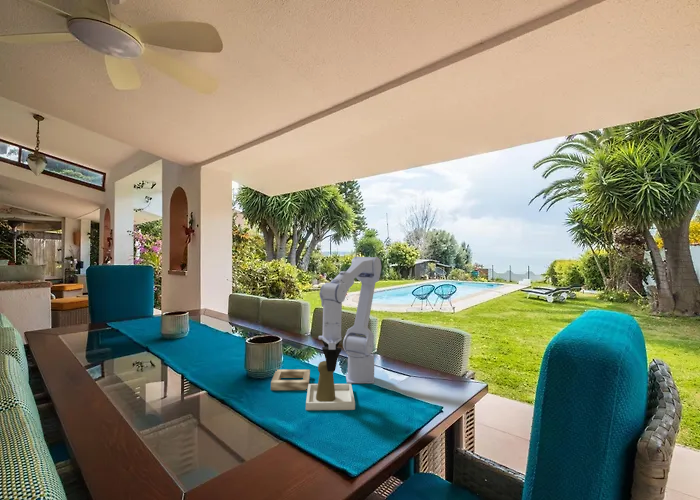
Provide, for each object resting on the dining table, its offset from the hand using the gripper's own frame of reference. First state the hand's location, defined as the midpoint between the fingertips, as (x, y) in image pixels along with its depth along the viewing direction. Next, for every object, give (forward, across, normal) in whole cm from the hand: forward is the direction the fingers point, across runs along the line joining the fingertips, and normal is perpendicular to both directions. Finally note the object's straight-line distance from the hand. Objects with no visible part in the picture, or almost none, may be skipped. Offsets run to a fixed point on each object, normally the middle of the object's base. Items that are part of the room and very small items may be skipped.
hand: (330, 366), depth 103 cm
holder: (+10, -13, -13) cm, 21 cm away
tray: (+10, 0, 0) cm, 10 cm away
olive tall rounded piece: (+10, 0, -1) cm, 10 cm away
